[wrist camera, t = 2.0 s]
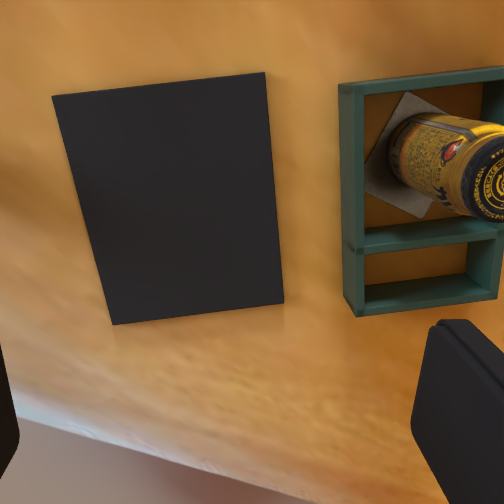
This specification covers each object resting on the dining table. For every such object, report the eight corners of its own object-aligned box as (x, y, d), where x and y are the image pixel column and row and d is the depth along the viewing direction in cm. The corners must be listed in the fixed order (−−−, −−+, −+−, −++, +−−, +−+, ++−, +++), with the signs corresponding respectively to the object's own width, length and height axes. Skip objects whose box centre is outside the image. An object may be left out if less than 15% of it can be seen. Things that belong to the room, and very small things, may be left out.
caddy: (338, 83, 34) (352, 84, 30) (495, 66, 34) (528, 64, 30) (343, 295, 41) (355, 317, 37) (472, 279, 41) (497, 299, 38)
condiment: (476, 130, 36) (593, 155, 25) (420, 218, 38) (502, 276, 27) (405, 90, 34) (495, 97, 23) (351, 185, 37) (409, 233, 26)
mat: (53, 95, 32) (50, 95, 32) (264, 72, 33) (265, 71, 32) (113, 322, 40) (112, 325, 40) (283, 300, 41) (284, 303, 40)
